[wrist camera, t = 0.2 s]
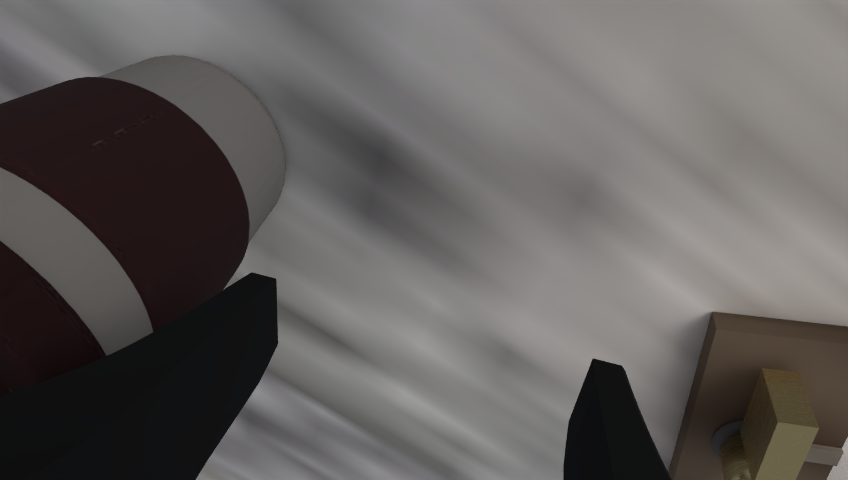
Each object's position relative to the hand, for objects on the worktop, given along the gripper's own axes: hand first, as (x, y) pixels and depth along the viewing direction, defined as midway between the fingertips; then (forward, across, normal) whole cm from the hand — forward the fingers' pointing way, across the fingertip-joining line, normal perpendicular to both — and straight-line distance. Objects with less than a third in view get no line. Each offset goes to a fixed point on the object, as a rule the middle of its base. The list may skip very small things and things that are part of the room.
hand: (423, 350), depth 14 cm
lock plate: (+10, -12, +9) cm, 18 cm away
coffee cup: (+10, +11, +2) cm, 15 cm away
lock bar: (+8, -12, +8) cm, 17 cm away
